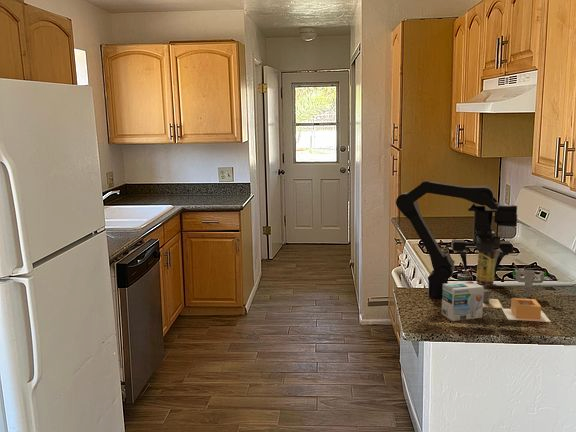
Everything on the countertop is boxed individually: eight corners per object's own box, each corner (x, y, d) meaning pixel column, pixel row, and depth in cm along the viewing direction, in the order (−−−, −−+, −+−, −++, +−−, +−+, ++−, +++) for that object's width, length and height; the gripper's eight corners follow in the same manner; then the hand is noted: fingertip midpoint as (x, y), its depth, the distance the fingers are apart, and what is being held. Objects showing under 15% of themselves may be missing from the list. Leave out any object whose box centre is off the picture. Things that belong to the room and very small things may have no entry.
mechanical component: (544, 301, 184) (546, 272, 183) (512, 299, 187) (514, 271, 185) (542, 298, 187) (544, 270, 186) (510, 297, 189) (512, 269, 188)
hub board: (508, 322, 166) (508, 308, 165) (501, 311, 175) (502, 297, 175) (550, 324, 164) (551, 310, 163) (541, 313, 173) (542, 299, 172)
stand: (473, 309, 177) (474, 294, 176) (469, 300, 186) (470, 286, 185) (502, 310, 176) (503, 295, 175) (497, 301, 184) (498, 287, 184)
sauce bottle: (472, 281, 208) (475, 230, 204) (486, 280, 209) (489, 229, 206) (483, 286, 201) (486, 233, 198) (498, 285, 203) (501, 232, 200)
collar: (515, 318, 167) (516, 305, 166) (510, 310, 173) (511, 298, 173) (540, 319, 165) (541, 306, 165) (534, 311, 172) (535, 299, 171)
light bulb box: (452, 324, 165) (454, 289, 163) (440, 316, 171) (441, 283, 169) (483, 320, 168) (485, 286, 166) (470, 313, 174) (471, 280, 172)
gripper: (455, 228, 173) (453, 276, 175) (518, 230, 169) (515, 279, 172) (451, 222, 183) (449, 267, 186) (511, 223, 180) (508, 270, 183)
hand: (480, 271), depth 181 cm, fingers open, 9 cm apart
